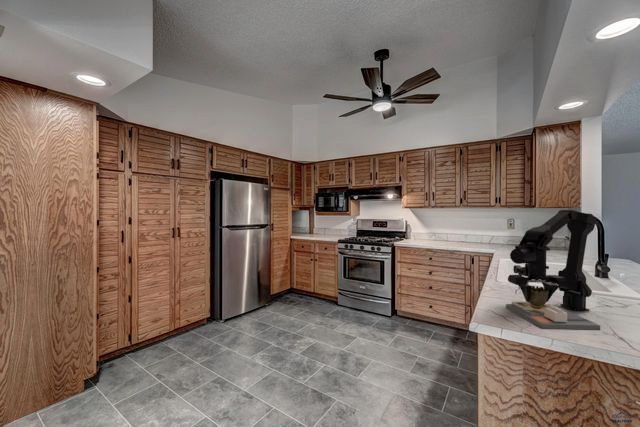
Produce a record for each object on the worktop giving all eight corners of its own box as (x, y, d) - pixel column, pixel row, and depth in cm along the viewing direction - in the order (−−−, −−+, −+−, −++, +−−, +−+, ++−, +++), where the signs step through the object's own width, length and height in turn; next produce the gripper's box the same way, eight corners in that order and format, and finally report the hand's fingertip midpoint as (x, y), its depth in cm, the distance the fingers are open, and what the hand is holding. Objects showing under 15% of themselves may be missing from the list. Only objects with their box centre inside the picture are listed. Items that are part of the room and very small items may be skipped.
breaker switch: (555, 316, 100) (555, 305, 100) (567, 322, 95) (567, 310, 95) (544, 316, 100) (544, 304, 100) (555, 321, 95) (555, 309, 95)
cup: (552, 312, 103) (553, 291, 103) (530, 310, 104) (531, 290, 104) (541, 305, 110) (541, 285, 110) (520, 303, 112) (521, 284, 111)
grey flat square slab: (553, 308, 113) (553, 304, 113) (600, 329, 93) (600, 325, 93) (506, 307, 114) (506, 303, 114) (541, 328, 94) (542, 323, 94)
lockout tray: (540, 305, 113) (540, 302, 113) (564, 316, 101) (564, 312, 101) (511, 304, 113) (511, 301, 113) (531, 315, 102) (531, 312, 102)
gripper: (546, 258, 114) (545, 295, 115) (499, 258, 116) (499, 294, 116) (568, 263, 103) (568, 304, 104) (517, 263, 104) (516, 304, 105)
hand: (536, 301), depth 107 cm, fingers open, 7 cm apart
